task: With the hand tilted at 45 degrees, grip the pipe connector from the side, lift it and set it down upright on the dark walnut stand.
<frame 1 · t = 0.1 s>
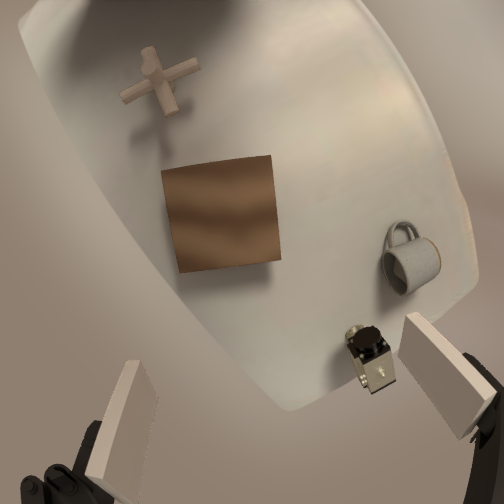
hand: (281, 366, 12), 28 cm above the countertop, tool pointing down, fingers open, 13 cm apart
pneumatic valve: (353, 335, 46), on the countertop
pipe connector: (168, 89, 32), on the countertop
ceramic mug: (398, 250, 42), on the countertop
walnut stand: (223, 209, 38), on the countertop
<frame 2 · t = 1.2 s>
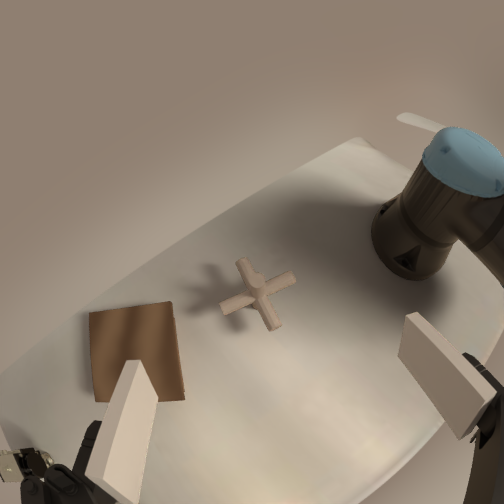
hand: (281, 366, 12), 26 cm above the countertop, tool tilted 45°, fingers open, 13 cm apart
pneumatic valve: (47, 459, 27), on the countertop
pipe connector: (258, 304, 40), on the countertop
walnut stand: (144, 358, 36), on the countertop
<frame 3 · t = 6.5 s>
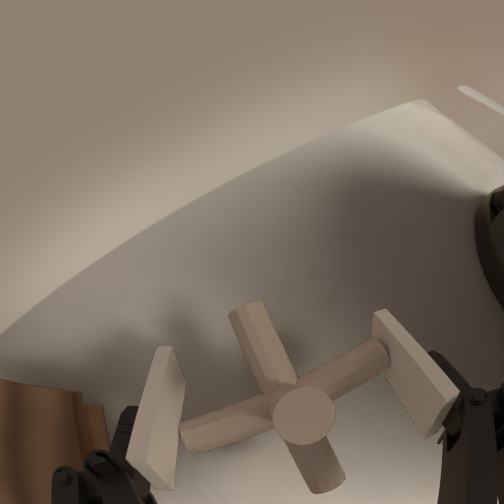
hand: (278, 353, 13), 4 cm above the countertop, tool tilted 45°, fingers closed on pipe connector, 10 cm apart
pipe connector: (280, 396, 16), on the countertop, touching gripper
walnut stand: (60, 460, 13), on the countertop
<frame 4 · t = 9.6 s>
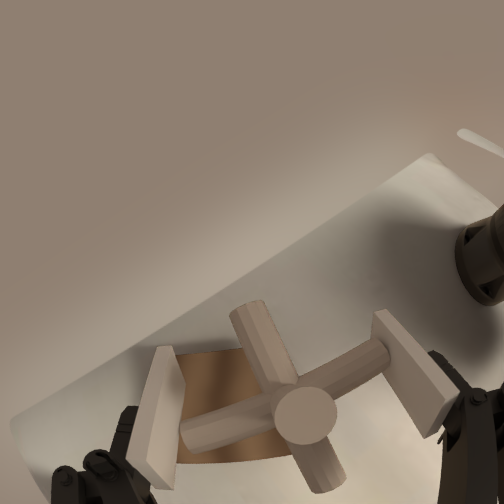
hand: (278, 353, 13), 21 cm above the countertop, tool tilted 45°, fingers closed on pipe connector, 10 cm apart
pipe connector: (281, 396, 16), point 17 cm above the countertop, touching gripper
walnut stand: (229, 404, 30), on the countertop
when the fingers open (11 cm above the countertop, at t = 12.8 s): pipe connector drops 1 cm, resting on walnut stand.
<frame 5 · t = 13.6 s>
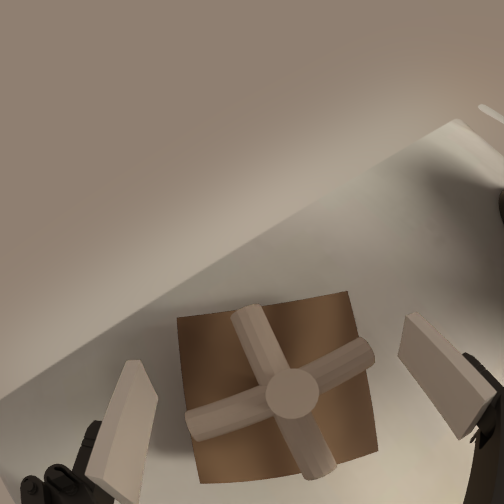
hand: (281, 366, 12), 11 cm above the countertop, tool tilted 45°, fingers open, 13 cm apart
pipe connector: (278, 395, 17), point 5 cm above the countertop, touching walnut stand
walnut stand: (274, 390, 22), on the countertop
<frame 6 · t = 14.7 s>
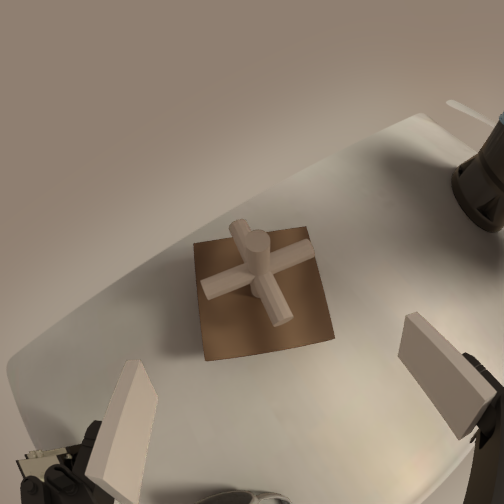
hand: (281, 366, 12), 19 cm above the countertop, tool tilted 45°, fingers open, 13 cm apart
pneumatic valve: (94, 459, 24), on the countertop
pipe connector: (260, 290, 29), point 5 cm above the countertop, touching walnut stand
walnut stand: (260, 302, 33), on the countertop
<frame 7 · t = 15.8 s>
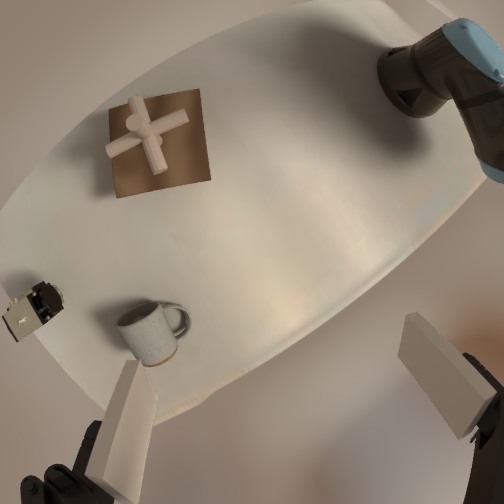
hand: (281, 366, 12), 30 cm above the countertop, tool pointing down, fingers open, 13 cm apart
pneumatic valve: (53, 294, 39), on the countertop
pipe connector: (156, 141, 33), point 5 cm above the countertop, touching walnut stand
ceramic mug: (159, 320, 42), on the countertop
walnut stand: (162, 147, 37), on the countertop
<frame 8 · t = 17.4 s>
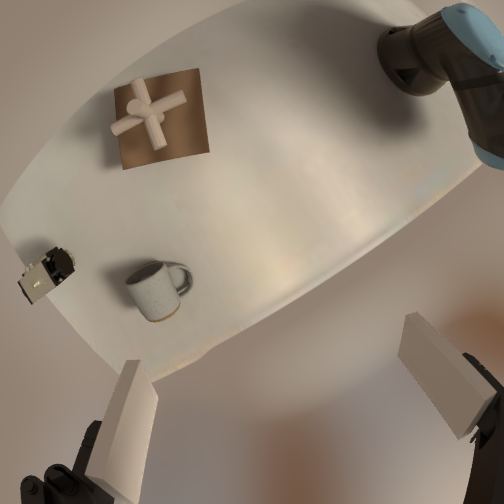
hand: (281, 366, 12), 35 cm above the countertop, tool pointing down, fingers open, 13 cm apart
pneumatic valve: (65, 258, 44), on the countertop
pipe connector: (158, 117, 34), point 5 cm above the countertop, touching walnut stand
ceramic mug: (164, 279, 48), on the countertop
walnut stand: (166, 121, 39), on the countertop
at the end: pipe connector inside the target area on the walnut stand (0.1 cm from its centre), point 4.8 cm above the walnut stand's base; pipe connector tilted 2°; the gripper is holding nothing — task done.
